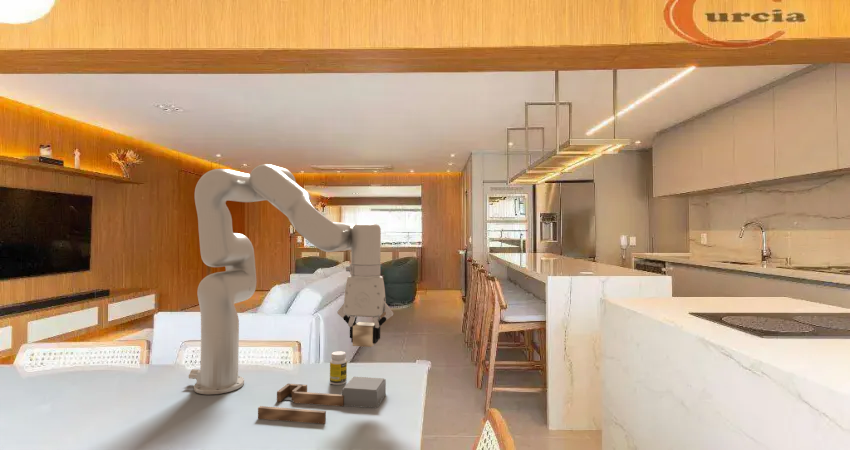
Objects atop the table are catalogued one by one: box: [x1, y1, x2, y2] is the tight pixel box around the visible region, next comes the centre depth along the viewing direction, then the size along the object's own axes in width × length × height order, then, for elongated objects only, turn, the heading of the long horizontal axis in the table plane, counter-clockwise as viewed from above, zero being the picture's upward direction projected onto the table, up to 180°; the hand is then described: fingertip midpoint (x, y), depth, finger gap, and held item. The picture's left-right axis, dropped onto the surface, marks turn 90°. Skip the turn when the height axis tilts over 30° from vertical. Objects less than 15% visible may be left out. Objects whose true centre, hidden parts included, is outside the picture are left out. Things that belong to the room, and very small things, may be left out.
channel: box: [257, 383, 345, 425], centre depth 107 cm, size 18×16×2 cm
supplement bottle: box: [329, 350, 348, 386], centre depth 125 cm, size 5×5×8 cm
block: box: [352, 321, 375, 348], centre depth 113 cm, size 5×5×5 cm
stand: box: [341, 376, 387, 409], centre depth 113 cm, size 9×9×4 cm
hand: (364, 341), depth 113 cm, fingers closed on block, 5 cm apart
